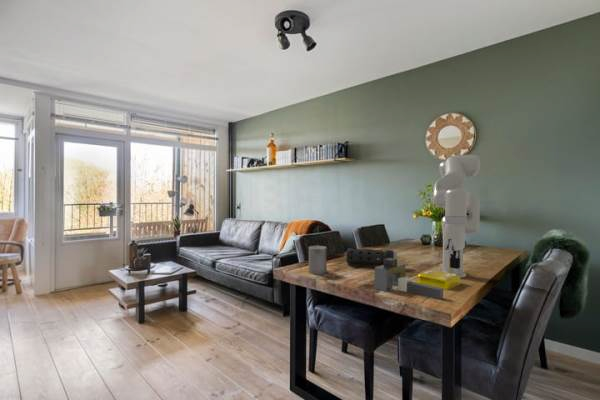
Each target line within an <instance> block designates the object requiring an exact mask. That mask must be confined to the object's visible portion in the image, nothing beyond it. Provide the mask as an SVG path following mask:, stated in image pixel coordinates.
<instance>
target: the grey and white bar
mask: <svg viewBox="0 0 600 400" xmlns="http://www.w3.org/2000/svg"><path fill="white" fill-rule="evenodd" d="M397 290H398V291H402V292H406V293H411V294H415V295H419V296H423V297H427V298H430V299H434V300H439V301H440V300H442V299H443V298H444V289H443V288H439V287H435V286H430V285H426V284H421V283H418V282H417V281H416V282H415V281H412V279H411V278H410V277H406V276H405V277H401V278H398V286H397Z"/></svg>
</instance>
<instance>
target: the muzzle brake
mask: <svg viewBox="0 0 600 400" xmlns="http://www.w3.org/2000/svg"><path fill="white" fill-rule="evenodd" d="M397 254H398V252H397V251H394V250H391V249H385V250H383V249H365V248H364V249H363V248H352V247H351V248H347V250H346V264H347V265H348V266H358V267H369V266H371V267H373V266H374V267H378V266H382V265H384V259H387V258H394V259H397V260H398V258H397V256H398V255H397Z"/></svg>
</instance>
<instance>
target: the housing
mask: <svg viewBox="0 0 600 400" xmlns="http://www.w3.org/2000/svg"><path fill="white" fill-rule="evenodd" d="M401 277H405V278H406V263H400V262H398V258H397V259H394V258H387V259H384V265H382V266H374V289H375V290H379V291H383V292H389V291H392V290H393V287H394V286H397V287H398V278H401Z"/></svg>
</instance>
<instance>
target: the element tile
mask: <svg viewBox="0 0 600 400" xmlns="http://www.w3.org/2000/svg"><path fill="white" fill-rule="evenodd" d="M440 271H441V270H434V269H430V270H426V271H423V272H421V273H418V275H417V283H421V284H426V285H430V286H435V287H439V288H443V290H452V289H453V288H455V287H457V286H460V285H461V278H460V275H456V274H451V273H445V272H440Z"/></svg>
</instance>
